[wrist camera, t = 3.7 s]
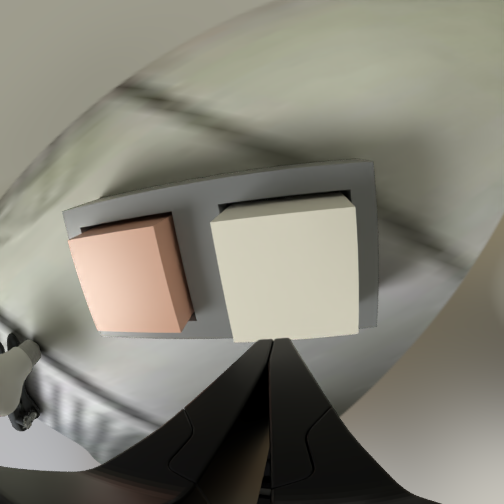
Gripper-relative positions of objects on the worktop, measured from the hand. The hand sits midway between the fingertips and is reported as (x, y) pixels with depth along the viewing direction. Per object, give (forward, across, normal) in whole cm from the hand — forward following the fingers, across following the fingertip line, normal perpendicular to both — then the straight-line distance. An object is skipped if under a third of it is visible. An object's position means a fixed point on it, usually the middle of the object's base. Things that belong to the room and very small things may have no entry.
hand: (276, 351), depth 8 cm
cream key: (+9, 0, 0) cm, 9 cm away
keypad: (+11, +4, 0) cm, 12 cm away
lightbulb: (+11, +28, +9) cm, 31 cm away
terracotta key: (+10, +8, 0) cm, 13 cm away
